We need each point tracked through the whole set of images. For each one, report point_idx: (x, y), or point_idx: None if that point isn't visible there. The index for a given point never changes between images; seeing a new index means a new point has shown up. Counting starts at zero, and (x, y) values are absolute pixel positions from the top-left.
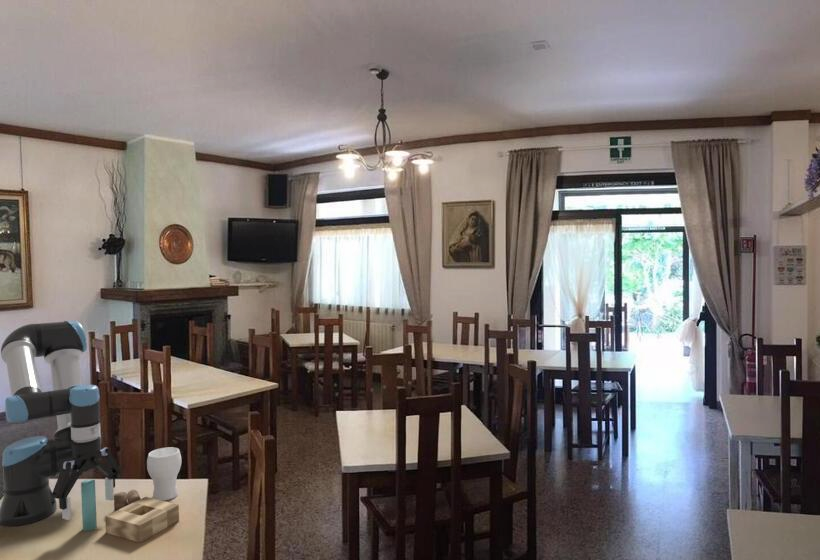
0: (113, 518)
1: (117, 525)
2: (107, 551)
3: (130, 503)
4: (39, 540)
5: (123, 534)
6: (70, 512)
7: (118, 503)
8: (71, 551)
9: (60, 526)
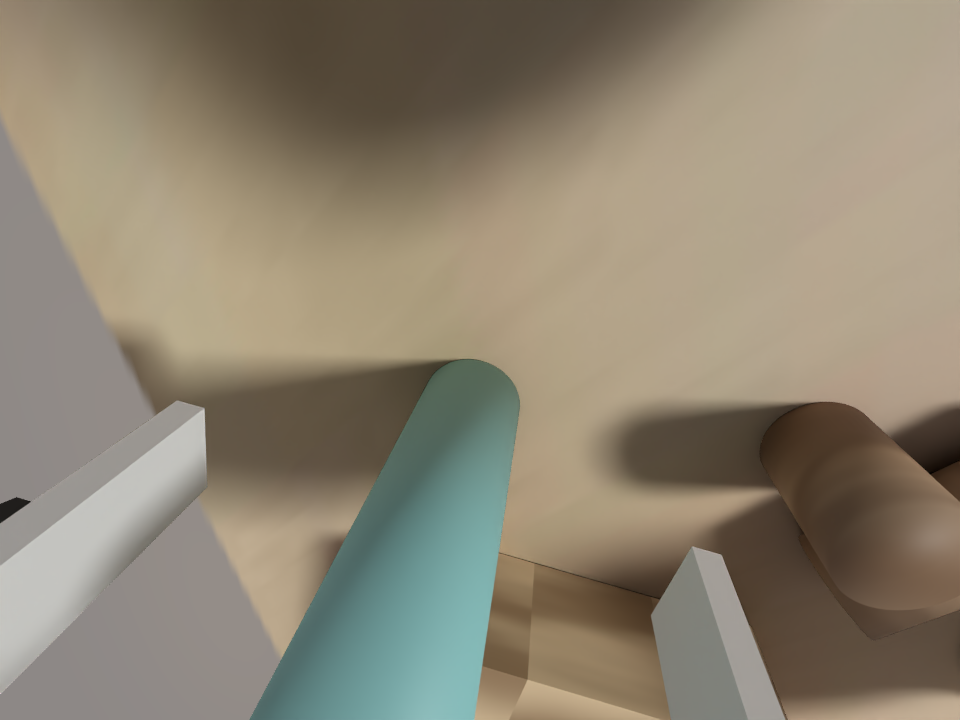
0: None
1: None
2: (281, 627)
3: (820, 574)
4: (199, 143)
5: None
6: (150, 538)
7: (794, 515)
8: None
9: (445, 117)
